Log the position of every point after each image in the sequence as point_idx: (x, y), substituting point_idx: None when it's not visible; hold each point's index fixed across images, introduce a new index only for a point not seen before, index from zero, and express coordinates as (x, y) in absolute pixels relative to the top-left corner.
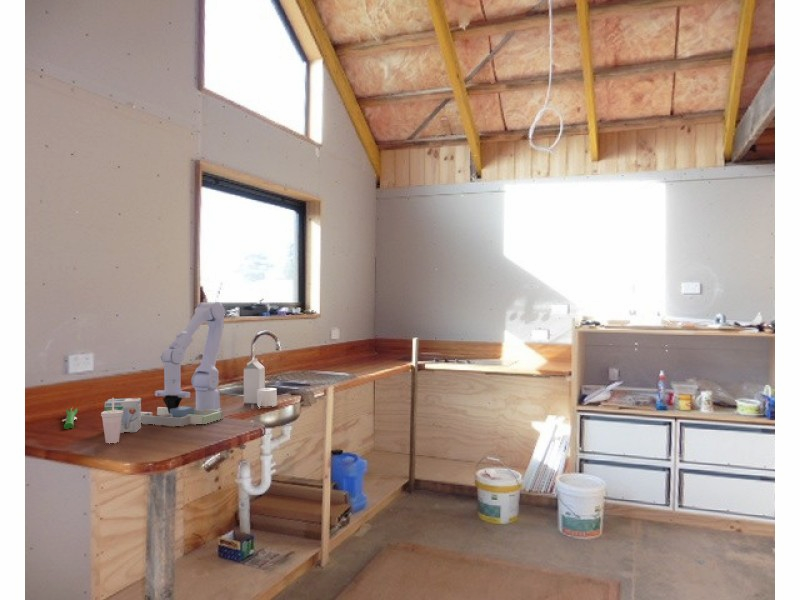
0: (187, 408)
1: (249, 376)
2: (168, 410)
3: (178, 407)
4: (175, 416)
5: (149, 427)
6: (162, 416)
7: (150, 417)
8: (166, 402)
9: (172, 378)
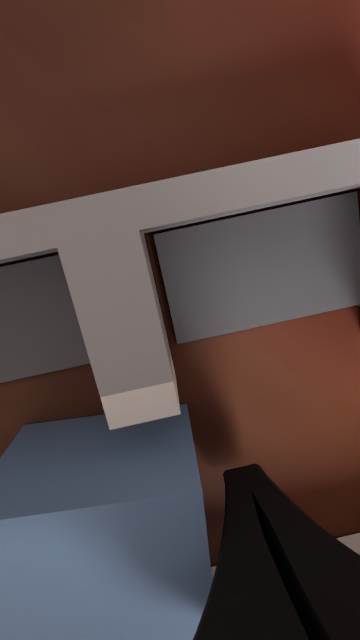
0: (4, 625)
1: None
2: (282, 500)
3: (184, 605)
4: (107, 443)
5: (99, 72)
6: (66, 246)
7: (235, 168)
8: (352, 590)
9: None
